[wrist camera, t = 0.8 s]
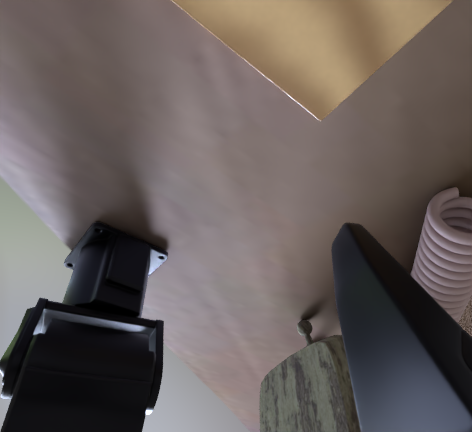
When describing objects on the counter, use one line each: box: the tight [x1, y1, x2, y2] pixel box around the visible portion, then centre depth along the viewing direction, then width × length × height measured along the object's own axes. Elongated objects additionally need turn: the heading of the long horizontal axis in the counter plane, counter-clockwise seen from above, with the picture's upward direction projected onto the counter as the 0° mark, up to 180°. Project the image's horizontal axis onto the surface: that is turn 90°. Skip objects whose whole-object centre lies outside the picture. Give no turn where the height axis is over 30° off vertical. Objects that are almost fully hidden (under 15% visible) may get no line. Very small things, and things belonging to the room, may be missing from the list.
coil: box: [411, 187, 472, 323], centre depth 31 cm, size 5×5×18 cm
